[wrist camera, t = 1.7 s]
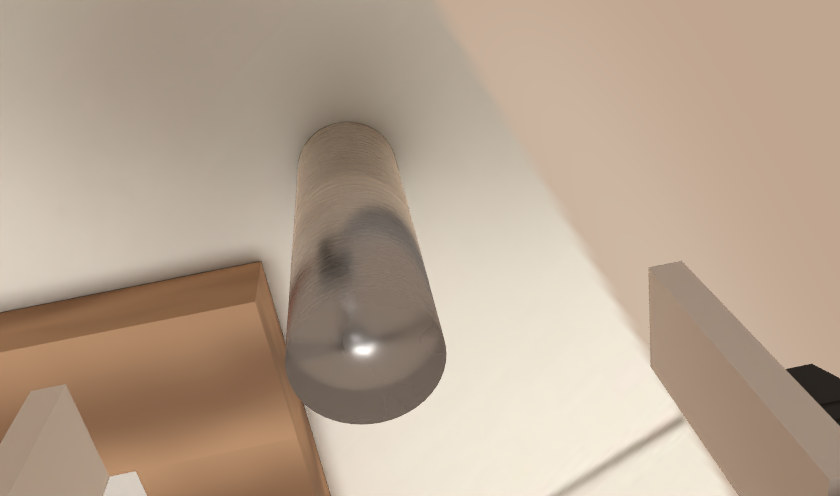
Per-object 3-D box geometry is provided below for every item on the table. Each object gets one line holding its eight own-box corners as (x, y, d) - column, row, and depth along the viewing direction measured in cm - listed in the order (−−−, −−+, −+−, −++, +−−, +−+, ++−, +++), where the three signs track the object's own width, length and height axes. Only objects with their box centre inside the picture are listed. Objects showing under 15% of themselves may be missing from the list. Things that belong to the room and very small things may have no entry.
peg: (287, 132, 26) (266, 310, 16) (386, 113, 26) (434, 276, 16) (310, 222, 28) (305, 438, 17) (403, 204, 28) (456, 406, 17)
